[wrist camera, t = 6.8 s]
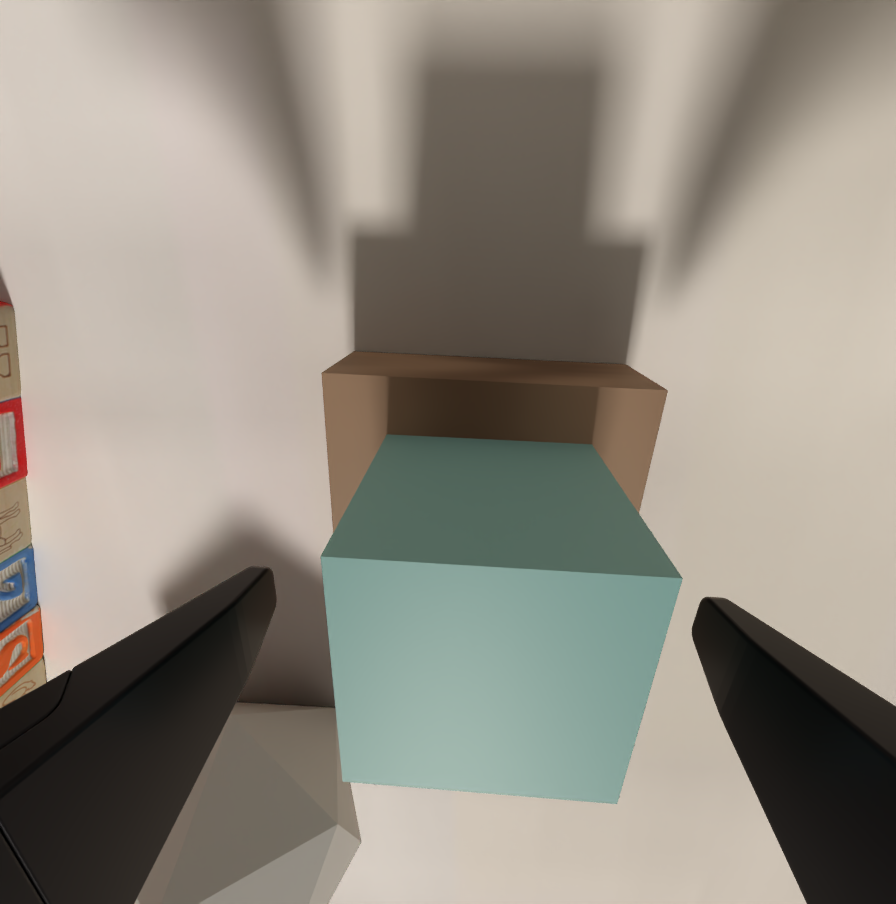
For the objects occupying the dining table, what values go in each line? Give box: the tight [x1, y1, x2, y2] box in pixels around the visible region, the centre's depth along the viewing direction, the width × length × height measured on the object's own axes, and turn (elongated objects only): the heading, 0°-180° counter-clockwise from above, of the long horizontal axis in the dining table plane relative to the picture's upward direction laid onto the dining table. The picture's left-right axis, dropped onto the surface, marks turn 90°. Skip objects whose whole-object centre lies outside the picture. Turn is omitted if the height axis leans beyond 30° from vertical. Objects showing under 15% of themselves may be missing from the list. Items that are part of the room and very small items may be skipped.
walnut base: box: [322, 351, 668, 533], centre depth 13 cm, size 8×8×3 cm
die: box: [134, 702, 361, 904], centre depth 16 cm, size 8×9×10 cm
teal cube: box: [321, 434, 683, 804], centre depth 9 cm, size 5×5×5 cm
